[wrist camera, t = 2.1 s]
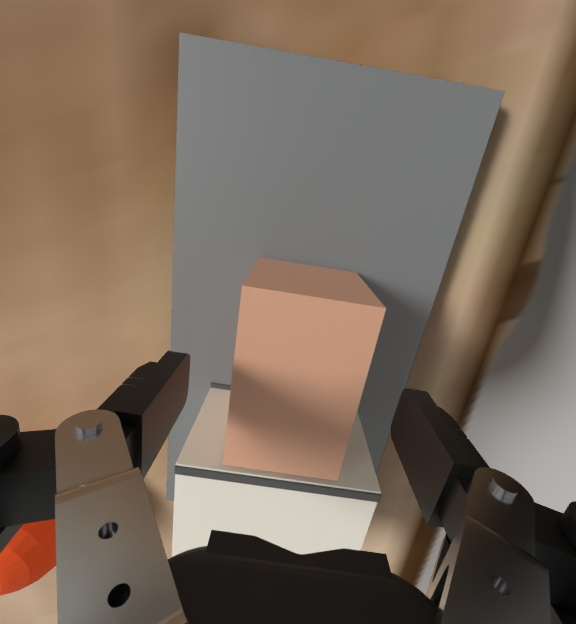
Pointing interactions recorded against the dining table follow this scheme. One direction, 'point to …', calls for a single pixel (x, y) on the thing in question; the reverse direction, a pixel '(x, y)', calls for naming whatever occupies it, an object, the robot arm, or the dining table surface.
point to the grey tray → (306, 255)
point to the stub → (299, 367)
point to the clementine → (28, 556)
